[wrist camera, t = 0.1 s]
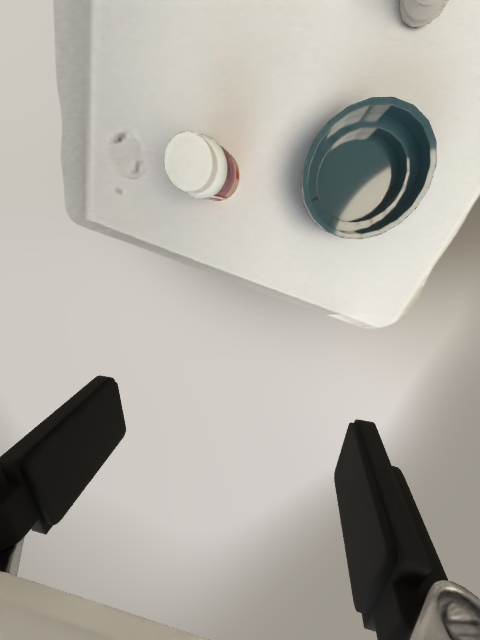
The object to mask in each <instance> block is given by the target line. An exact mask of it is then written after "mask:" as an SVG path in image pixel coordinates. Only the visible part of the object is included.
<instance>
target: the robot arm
mask: <svg viewBox="0 0 480 640" xmlns="http://www.w3.org/2000/svg"><path fill="white" fill-rule="evenodd" d="M125 432H126V426H125V420H124V415H123V410H122V405H121V400H120V394H119V390H118V384H117V383H116V382H115V380H114V379H113V378H111V377H105V376H97V377H96V378H94V379H93V380H92V381H91V382H89V383H88V384H87V385H86V386H85V387H83V388H82V389H81V390H80V391H79V392H77V393H76V394H75V395H74V396H73V397H72V398H70V399H69V400H68V401H67V402H66V403H64V404H63V405H62V406H61V407H60V408H58V409H57V410H56V411H55V412H54V413H52V414H51V415H50V416H49V417H47V418H46V419H45V420H44V421H43V422H41V423H40V424H39V425H38V426H37V427H35V428H34V429H33V430H32V431H31V432H30V433H29V434H27V435H26V436H25V437H24V438H22V439H21V440H20V441H19V442H18V443H16V444H15V445H14V446H13V447H12V448H10V449H9V450H8V451H7V452H6V453H4V454H3V455H2V456H1V457H0V640H208V639H205V638H202V637H199V636H196V635H193V634H190V633H187V632H185V631H182V630H178V629H175V628H173V627H169V626H167V625H164V624H160V623H157V622H155V621H151V620H149V619H146V618H142V617H139V616H136V615H133V614H130V613H127V612H124V611H121V610H118V609H115V608H112V607H109V606H106V605H103V604H100V603H97V602H94V601H91V600H88V599H85V598H82V597H79V596H76V595H73V594H70V593H67V592H64V591H60V590H57V589H54V588H51V587H48V586H45V585H42V584H39V583H36V582H33V581H30V580H26V579H24V578H21V577H17V573H18V568H19V562H20V557H21V552H22V546H23V541H24V536H25V535H26V534H27V533H28V532H29V530H30V529H32V531H36V532H39V533H43V534H47V533H48V531H49V530H50V529H51V527H52V526H53V525H55V524H57V523H58V522H59V521H60V520H61V519H62V518H63V517H64V515H65V514H66V513H67V511H68V510H69V509H70V507H71V506H72V505H73V503H74V502H75V501H76V499H77V498H78V497H79V495H80V494H81V493H82V491H83V490H84V489H85V487H86V486H87V485H88V483H89V482H90V481H91V480H92V478H93V477H94V476H95V474H96V473H97V471H98V470H99V469H100V467H101V466H102V465H103V463H104V462H105V461H106V460H107V458H108V457H109V456H110V454H111V453H112V452H113V450H114V449H115V447H116V446H117V445H118V444H119V442H120V441H121V440H122V438H123V437H124V435H125ZM334 475H335V476H334V479H335V487H336V494H337V500H338V506H339V513H340V519H341V525H342V531H343V538H344V543H345V551H346V557H347V563H348V569H349V576H350V582H351V588H352V595H353V601H354V605H355V609H356V611H357V612H360V613H362V617H363V623H364V628H365V629H369V630H372V631H376V633H377V638H378V640H480V599H479V598H478V597H477V596H475V595H474V594H473V593H471V592H470V591H469V590H467V589H466V588H464V587H463V586H460V585H458V584H456V583H454V582H451V581H448V579H447V576H446V574H445V572H444V569H443V567H442V564H441V562H440V560H439V557H438V555H437V553H436V550H435V548H434V546H433V543H432V541H431V539H430V536H429V534H428V532H427V529H426V527H425V525H424V522H423V520H422V517H421V515H420V513H419V510H418V508H417V506H416V503H415V501H414V499H413V496H412V494H411V492H410V489H409V487H408V485H407V482H406V480H405V478H404V476H403V474H402V472H401V470H400V469H399V468H397V467H394V466H391V463H390V461H389V458H388V456H387V453H386V451H385V448H384V445H383V443H382V440H381V438H380V435H379V433H378V430H377V428H376V425H375V424H374V423H373V422H369V421H363V420H355V422H354V423H349V426H348V429H347V433H346V436H345V439H344V442H343V446H342V449H341V453H340V456H339V459H338V462H337V466H336V469H335V474H334Z"/></svg>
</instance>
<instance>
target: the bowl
mask: <svg viewBox="0 0 480 640" xmlns="http://www.w3.org/2000/svg"><path fill="white" fill-rule="evenodd" d="M435 167H436V139H435V136H434V133H433V131H432V128H431V125H430V122H429V120H428V119H427V118H426V117H425V116H424V115H423V114H422V113H421V112H420V111H419V110H418V109H417V108H416V107H415V106H414V105H413V104H410V103H408V102H405V101H403V100H400V99H398V98H395V97H372V98H369V99H366V100H363V101H361V102H358V103H356V104H353V105H350V106H349V107H347V108H345V109H344V110H343V111H342V112H340V113H339V114H338V115H336V116H335V117H334V118H333V119H331V120H330V121H329V122H328V123H327V124H326V126H325V127H324V128H323V130H322V131H321V132H320V134H319V135H318V136H317V138H316V139H315V140H314V142H313V144H312V147H311V149H310V152H309V154H308V156H307V159H306V161H305V165H304V169H303V175H302V183H301V192H302V198H303V204H304V206H305V208H306V210H307V212H308V214H309V216H310V218H311V219H312V220H313V221H314V222H315V223H316V224H317V225H318V226H319V227H321V228H322V229H323V230H325V231H327V232H330V233H332V234H334V235H337V236H339V237H342V238H352V239H363V238H368V237H372V236H376V235H380V234H382V233H384V232H386V231H388V230H389V229H391V228H393V227H395V226H397V225H398V224H400V223H401V222H402V221H403V220H404V219H405V218H406V217H407V216H408V215H409V214H410V213H412V212H413V211H414V210H415V209H416V208H417V206H418V204H419V203H420V201H421V200H422V198H423V197H424V195H425V193H426V192H427V190H428V189H429V186H430V183H431V180H432V177H433V174H434V170H435Z"/></svg>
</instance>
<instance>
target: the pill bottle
mask: <svg viewBox="0 0 480 640" xmlns="http://www.w3.org/2000/svg"><path fill="white" fill-rule="evenodd" d="M164 165H165V170H166V173H167V175H168V177H169V179H170V180H171V182H172V183H173V184H174V185H175V186H176V187H177V188H179V189H181V190H183V191H185V192H186V193H187V194H189V195H190V196H192V197H195V198H199V199H206V200H213V201H222V200H225V199H227V198H229V197H230V196H231V195H232V194H233V193H234V192H235V190H236V189H237V186H238V183H239V168H238V165H237V163H236V161H235V159H234V158H233V157H232V156H231V155H230V154H229V153H228V152H227V151H226V150H225V149H224V148H223V147H222V146H220V145H219V144H218V143H217V142H216V141H215V140H213V139H212V138H210V137H209V136H206V135H203V134H196V133H193V132H181V133H179V134H177V135H175V136H174V137H173V138H172V139H171V140H170V141H169V143H168V145H167V147H166V150H165V155H164Z"/></svg>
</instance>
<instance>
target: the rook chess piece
mask: <svg viewBox="0 0 480 640" xmlns="http://www.w3.org/2000/svg"><path fill="white" fill-rule="evenodd" d="M447 2H448V0H400V13H401V16H402V18H403V20H404V22H405V23H407V24H408V25H409V26H411V27H422V26H424V25H426V24H429V23H430V22H432V21H433V20H434V19H435V18H436V17H437V16H438V15H439V14H440V13H441V11H442V10H443V8H444V7H445V5H446V4H447Z"/></svg>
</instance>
